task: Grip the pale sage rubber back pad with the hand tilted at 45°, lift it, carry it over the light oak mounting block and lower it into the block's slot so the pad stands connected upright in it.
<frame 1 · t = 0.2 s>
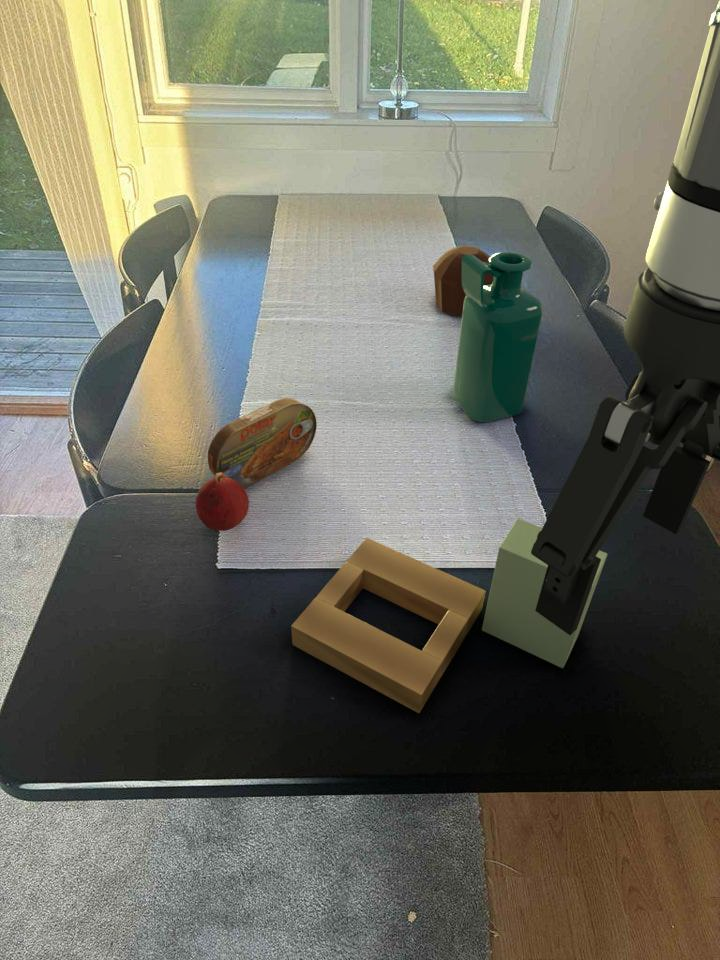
hand: (612, 568, 49), 21 cm above the table, tool pointing down, fingers open, 13 cm apart
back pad: (529, 633, 70), on the table
onion: (226, 529, 81), on the table
brown wooden arched block: (461, 306, 124), on the table
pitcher: (482, 406, 100), on the table
tin: (265, 469, 89), on the table
mount block: (389, 626, 70), on the table
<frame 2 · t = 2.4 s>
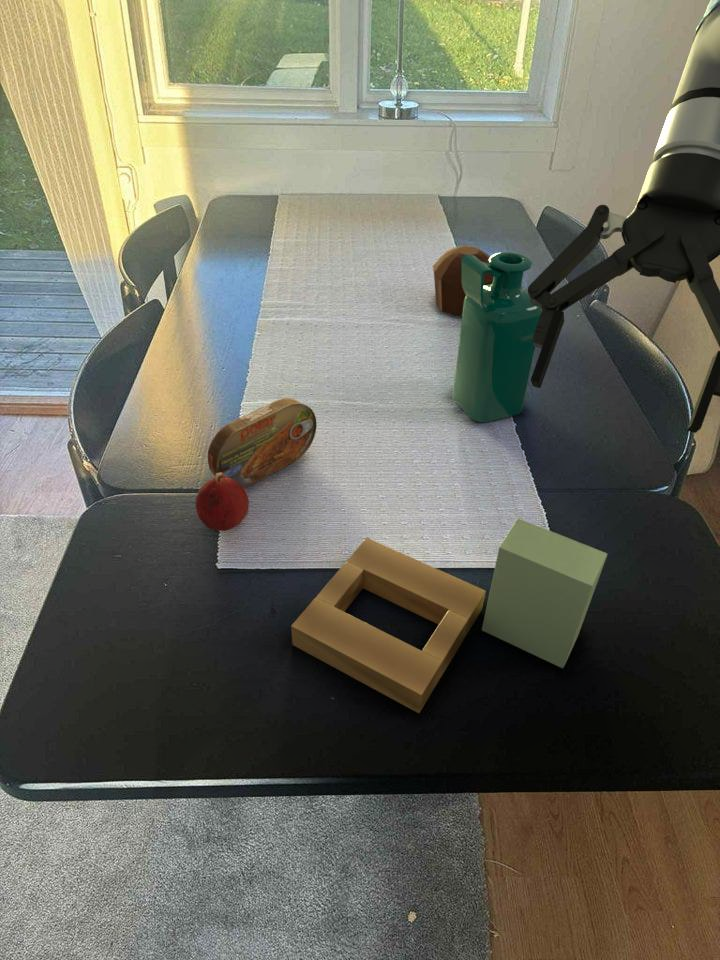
hand: (611, 406, 61), 23 cm above the table, tool tilted 40°, fingers open, 13 cm apart
nothing on the table moved.
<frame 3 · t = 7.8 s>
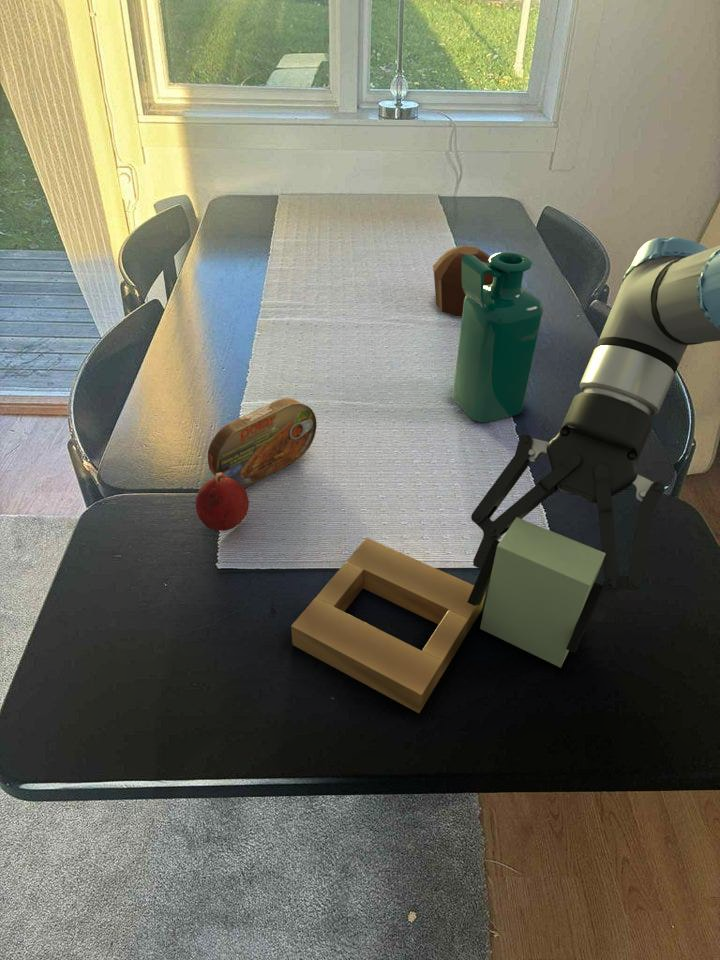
hand: (521, 626, 65), 4 cm above the table, tool tilted 45°, fingers open, 9 cm apart
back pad: (527, 632, 70), on the table, touching gripper
everything else where it was.
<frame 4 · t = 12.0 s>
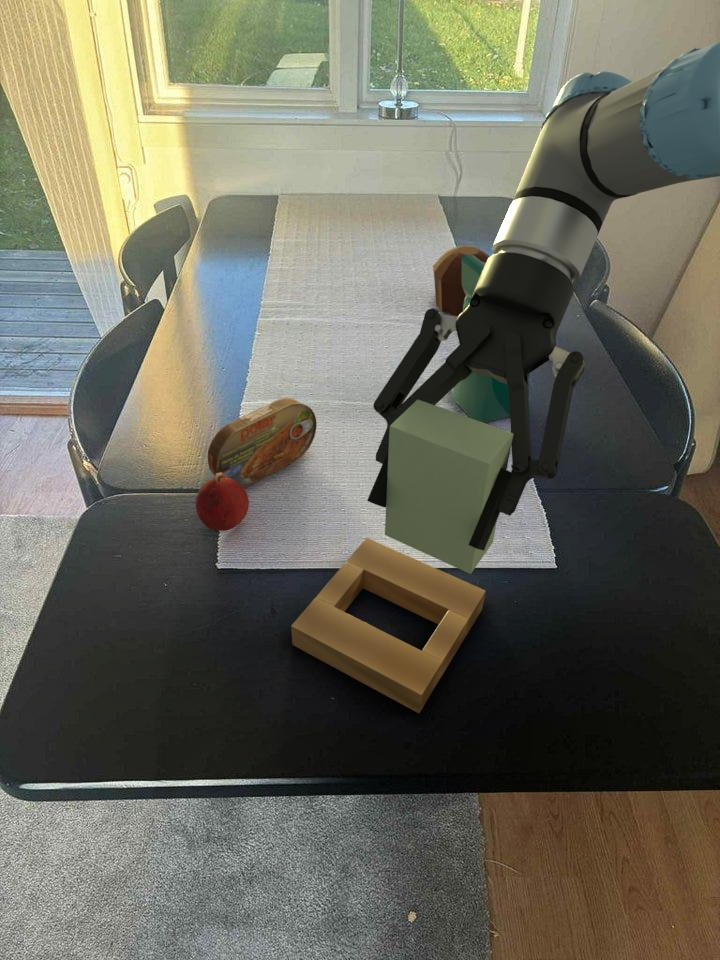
hand: (424, 525, 57), 17 cm above the table, tool tilted 45°, fingers closed on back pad, 8 cm apart
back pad: (438, 538, 62), point 13 cm above the table, touching gripper
everything else where it was.
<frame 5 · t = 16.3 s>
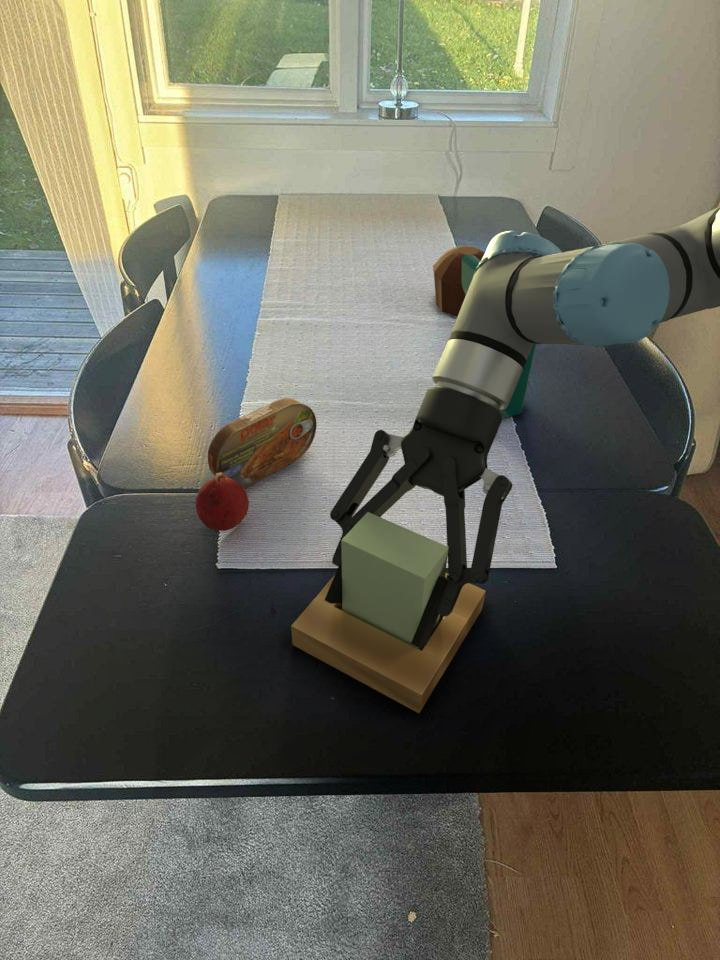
hand: (374, 622, 65), 4 cm above the table, tool tilted 45°, fingers closed on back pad, 8 cm apart
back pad: (390, 627, 70), resting in mount block, touching gripper
everything else where it was.
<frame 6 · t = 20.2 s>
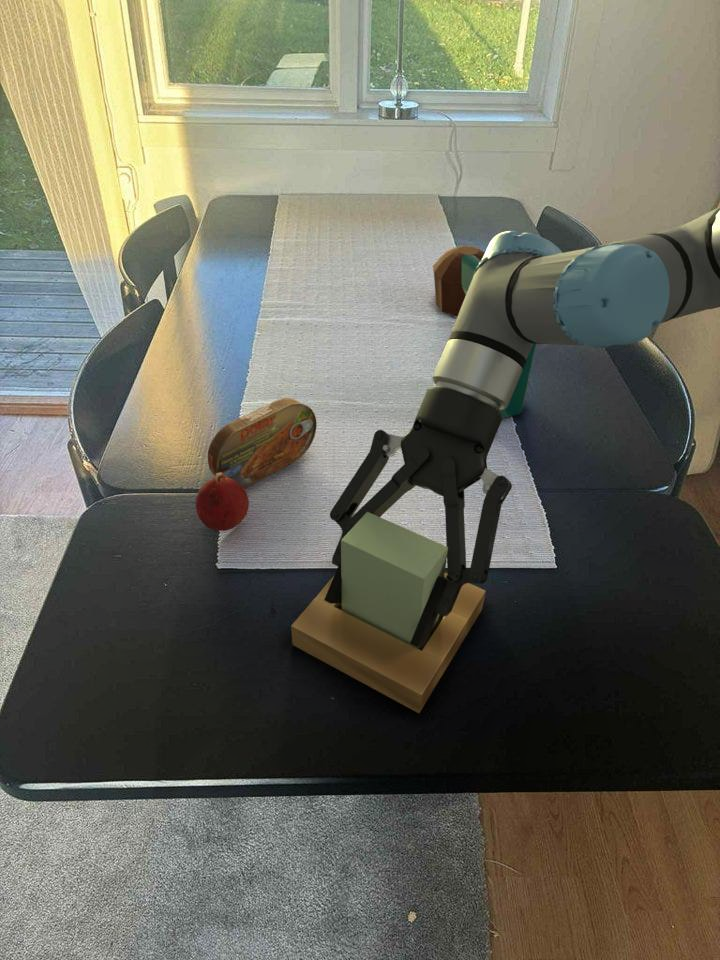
hand: (374, 622, 65), 4 cm above the table, tool tilted 45°, fingers closed on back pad, 8 cm apart
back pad: (389, 627, 70), resting in mount block, touching gripper
everything else where it was.
when the fingers open (5 cm above the table, at t = 23.8 s): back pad stays where it is, resting in mount block.
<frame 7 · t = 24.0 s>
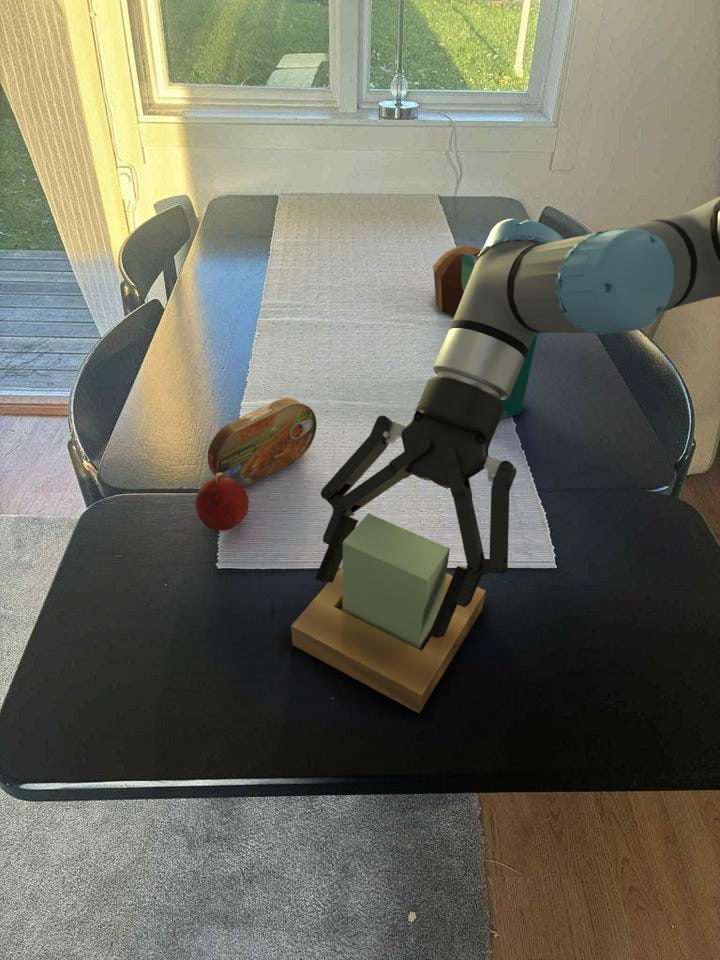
hand: (378, 607, 65), 6 cm above the table, tool tilted 45°, fingers open, 11 cm apart
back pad: (389, 628, 70), resting in mount block
everything else where it was.
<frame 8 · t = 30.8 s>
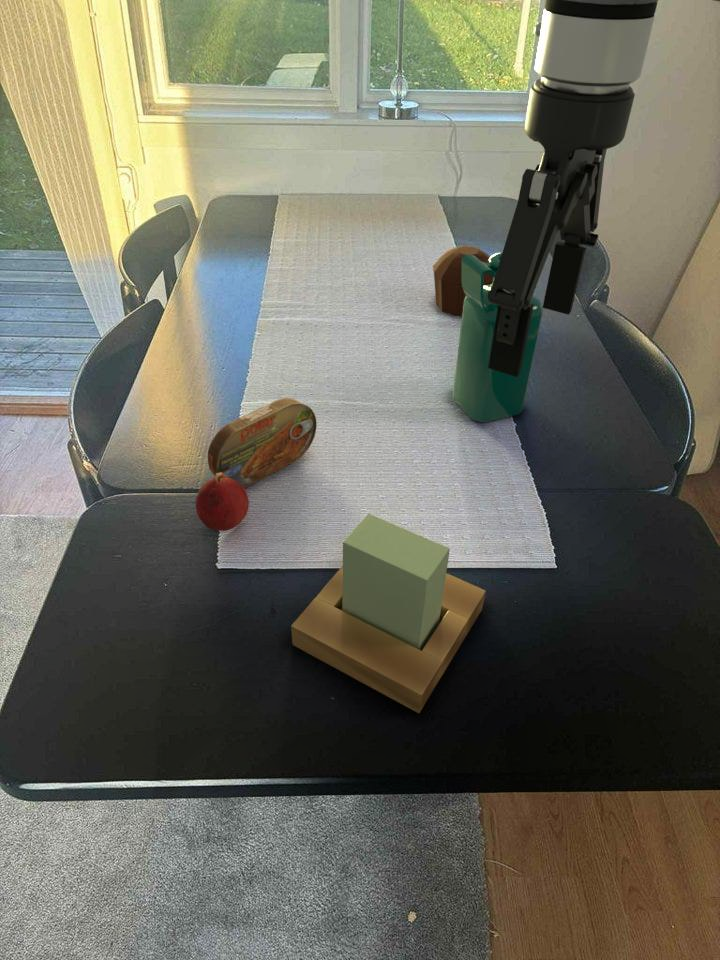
hand: (532, 338, 65), 25 cm above the table, tool pointing down, fingers open, 13 cm apart
nothing on the table moved.
at the end: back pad 0.2 cm off-centre on the mount block, point 0.0 cm above the mount block's base; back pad tilted 0°; the gripper is holding nothing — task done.
